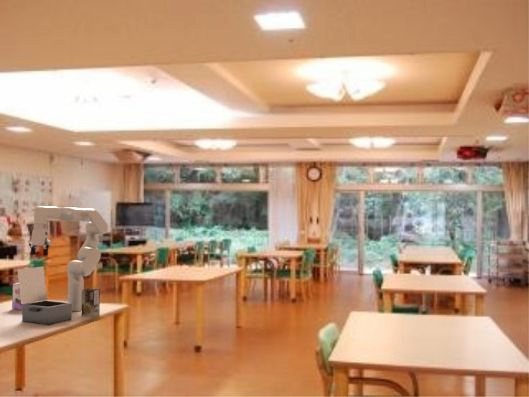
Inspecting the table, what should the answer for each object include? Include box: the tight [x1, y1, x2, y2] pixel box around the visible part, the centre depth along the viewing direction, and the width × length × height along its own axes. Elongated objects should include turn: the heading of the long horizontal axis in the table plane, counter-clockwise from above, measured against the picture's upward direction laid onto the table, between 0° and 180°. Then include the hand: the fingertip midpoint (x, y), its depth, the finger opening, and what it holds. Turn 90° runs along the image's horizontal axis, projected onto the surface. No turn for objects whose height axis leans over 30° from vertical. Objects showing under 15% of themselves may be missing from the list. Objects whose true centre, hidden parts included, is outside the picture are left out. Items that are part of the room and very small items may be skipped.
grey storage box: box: [21, 299, 73, 326], centre depth 350 cm, size 22×20×10 cm
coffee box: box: [81, 288, 101, 318], centre depth 368 cm, size 9×6×16 cm
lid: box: [17, 266, 48, 304], centre depth 356 cm, size 19×20×3 cm
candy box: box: [11, 282, 34, 311], centre depth 387 cm, size 14×6×16 cm, turn 68°
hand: (39, 255), depth 366 cm, fingers open, 9 cm apart
